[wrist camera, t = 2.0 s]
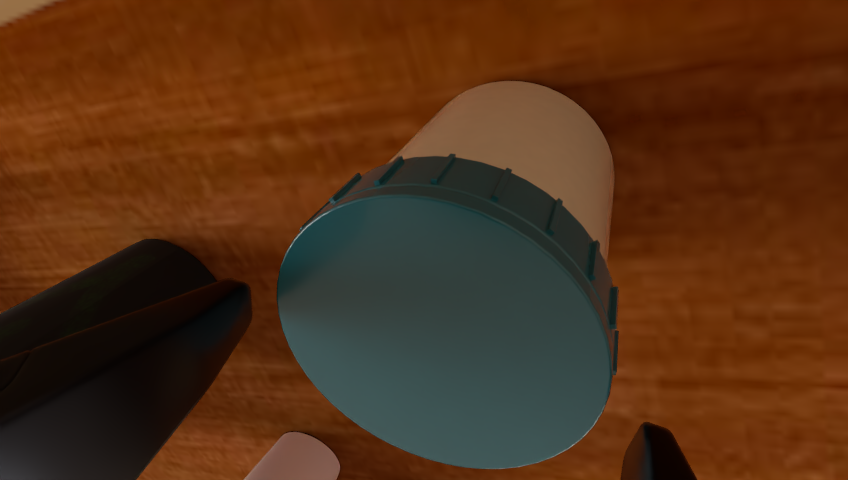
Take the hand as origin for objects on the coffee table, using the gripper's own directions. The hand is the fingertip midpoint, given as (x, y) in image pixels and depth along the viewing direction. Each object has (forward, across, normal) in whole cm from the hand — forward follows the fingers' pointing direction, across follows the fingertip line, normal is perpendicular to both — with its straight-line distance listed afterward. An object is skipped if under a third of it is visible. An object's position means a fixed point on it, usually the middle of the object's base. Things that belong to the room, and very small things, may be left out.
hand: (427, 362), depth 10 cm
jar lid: (+1, 0, 0) cm, 1 cm away
